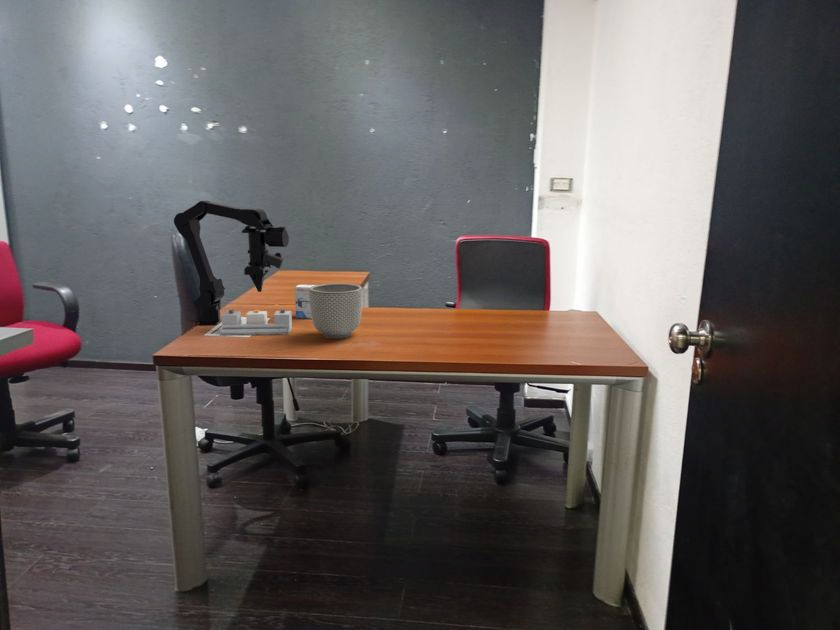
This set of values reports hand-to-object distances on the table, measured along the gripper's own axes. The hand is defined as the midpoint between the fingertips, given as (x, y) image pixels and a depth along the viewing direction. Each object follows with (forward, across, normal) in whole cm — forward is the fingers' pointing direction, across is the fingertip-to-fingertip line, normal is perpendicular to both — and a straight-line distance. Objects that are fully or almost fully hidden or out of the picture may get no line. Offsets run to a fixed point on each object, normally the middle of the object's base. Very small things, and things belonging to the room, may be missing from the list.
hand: (259, 291), depth 213 cm
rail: (+12, -12, 0) cm, 17 cm away
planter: (+12, -16, -27) cm, 33 cm away
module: (+12, -6, 0) cm, 14 cm away
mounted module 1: (+12, -7, +8) cm, 16 cm away
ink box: (+12, +12, -15) cm, 23 cm away
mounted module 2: (+12, -7, -8) cm, 16 cm away
